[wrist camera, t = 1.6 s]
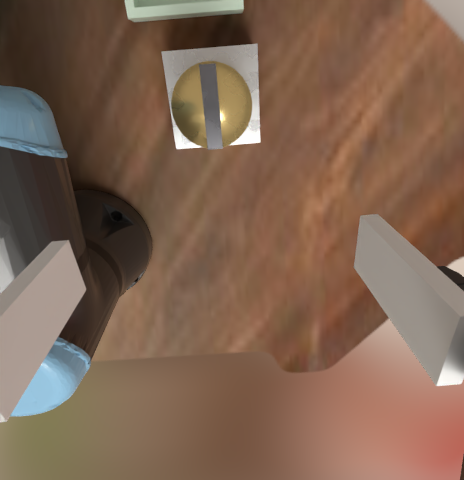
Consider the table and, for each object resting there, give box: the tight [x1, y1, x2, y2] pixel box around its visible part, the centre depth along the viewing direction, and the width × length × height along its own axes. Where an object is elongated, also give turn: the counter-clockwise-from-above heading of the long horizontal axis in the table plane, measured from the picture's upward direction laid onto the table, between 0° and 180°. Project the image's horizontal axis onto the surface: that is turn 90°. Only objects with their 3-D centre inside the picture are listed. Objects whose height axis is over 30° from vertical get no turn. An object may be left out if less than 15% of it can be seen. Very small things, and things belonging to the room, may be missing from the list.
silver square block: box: [162, 44, 260, 149], centre depth 34 cm, size 9×9×4 cm
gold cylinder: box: [171, 61, 252, 150], centre depth 30 cm, size 6×6×13 cm
